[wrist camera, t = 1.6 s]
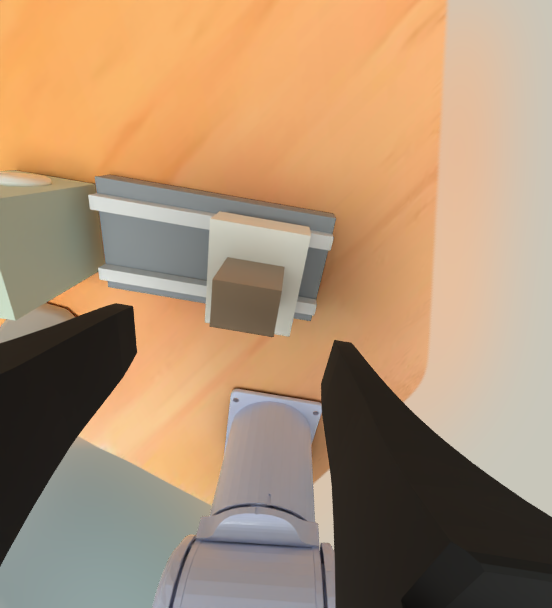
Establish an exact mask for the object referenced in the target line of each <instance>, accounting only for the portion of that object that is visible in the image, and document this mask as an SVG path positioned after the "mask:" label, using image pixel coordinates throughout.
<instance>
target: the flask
mask: <svg viewBox="0 0 552 608" xmlns="http://www.w3.org/2000/svg"><path fill="white" fill-rule="evenodd" d="M72 318H75V316H74V315H73V314H72V313H70V312H69V311H68V310H67V309H65V308H61V307H58V306H55V305H51V304H48V303H45V304H43V305H41V306H39V307H38V308H36V309H34V310H33V311H31V312H29V313H28V314H26V315H24V316H23V317H21V318H19V319H18V320H16V321H15V320H9V319H6V320H5V321H4V323H3V324H2V325H1V327H0V343H2V342H6V341H9V340H12V339H15V338H18V337H21V336H24V335H27V334H30V333H33V332H36V331H39V330H42V329H45V328H48V327H51V326H53V325H56V324H59V323H61V322H64V321H67V320H70V319H72Z"/></svg>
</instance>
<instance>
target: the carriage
mask: <svg viewBox="0 0 552 608" xmlns="http://www.w3.org/2000/svg"><path fill="white" fill-rule="evenodd" d="M310 238H311V233H310V227H307V226H301V225H296V224H290V223H284V222H278V221H273V220H267V219H261V218H255V217H249V216H244V215H238V214H232V213H226V212H221V211H219V212H218V213H217V214H215V215H214V216H213V217H211V218H210V228H209V249H208V269H207V289H206V310H205V323H210V327H216V328H222V329H227V330H233V331H239V332H245V333H251V334H257V335H263V336H269V337H274V334H277V335H283V336H290V332H291V327H292V322H293V318H294V313H295V308H296V304H297V299H298V294H299V290H300V285H301V280H302V275H303V271H304V266H305V261H306V257H307V252H308V247H309V243H310Z"/></svg>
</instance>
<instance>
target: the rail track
mask: <svg viewBox="0 0 552 608" xmlns="http://www.w3.org/2000/svg"><path fill="white" fill-rule="evenodd" d="M95 183H96V191H97V193H94V194H89V195H88V198H89V205H90V209H91V210H97V211H99V215H100V223H101V231H102V239H103V248H104V256H105V264H104V265H102V266H100V267H99V268H98V271H99V278H100V280H106V281H108V287H111V288H117V289H123V290H129V291H135V292H141V293H147V294H153V295H159V296H165V297H171V298H177V299H183V300H188V301H194V302H200V303H206V289H207V269H208V249H209V228H210V218H211V217H213V216H214V215H215V214H217V213H218V212H219V211H221V212H226V213H232V214H238V215H244V216H249V217H255V218H261V219H267V220H273V221H278V222H284V223H290V224H296V225H301V226H307V227H310V233H311V238H310V243H309V247H308V252H307V257H306V261H305V266H304V271H303V275H302V280H301V285H300V290H299V294H298V299H297V304H296V308H295V313H294V318H295V319H301V320H307V321H311V318H312V315H313V316H314V314H315V310H316V306H317V302H316V298H317V294H318V290H319V286H320V282H321V278H322V273H323V269H324V265H325V261H326V257H327V253H328V250H329V251H330V250H331V246H332V242H333V238H334V237H333V234H332V233H333V229H334V225H335V221H336V217H335V216H334V214H332V213H327V212H321V211H315V210H309V209H304V208H298V207H292V206H286V205H281V204H275V203H269V202H263V201H258V200H252V199H246V198H240V197H235V196H229V195H223V194H217V193H212V192H206V191H200V190H194V189H189V188H183V187H177V186H171V185H166V184H160V183H154V182H148V181H143V180H137V179H131V178H125V177H120V176H114V175H103V176H95Z"/></svg>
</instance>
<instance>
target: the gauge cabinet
mask: <svg viewBox="0 0 552 608" xmlns="http://www.w3.org/2000/svg"><path fill="white" fill-rule="evenodd" d="M94 193H96V187H95V184H92V183H86V182H80V181H75V180H69V179H63V178H57V177H52V176H46V175H40V174H34V173H29V172H23V171H17V170H11V171H0V318H3V319H9V320H15V321H16V320H18V319H19V318H21V317H23V316H24V315H26V314H28V313H29V312H31V311H33V310H34V309H36V308H38V307H39V306H41V305H43V304H45V303H46V302H48V301H50V300H51V299H53V298H55V297H56V296H58V295H60V294H61V293H63V292H65V291H66V290H68V289H70V288H71V287H73V286H75V285H77V284H78V283H80V282H82V281H83V280H85V279H87V278H88V277H90V276H92V275H93V274H95V273H97V272H98V268H99V267H100V266H102V265H104V264H105V260H104V252H103V244H102V236H101V228H100V220H99V212H98V211H97V210H91V209H90V205H89V198H88V195H89V194H94Z"/></svg>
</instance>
